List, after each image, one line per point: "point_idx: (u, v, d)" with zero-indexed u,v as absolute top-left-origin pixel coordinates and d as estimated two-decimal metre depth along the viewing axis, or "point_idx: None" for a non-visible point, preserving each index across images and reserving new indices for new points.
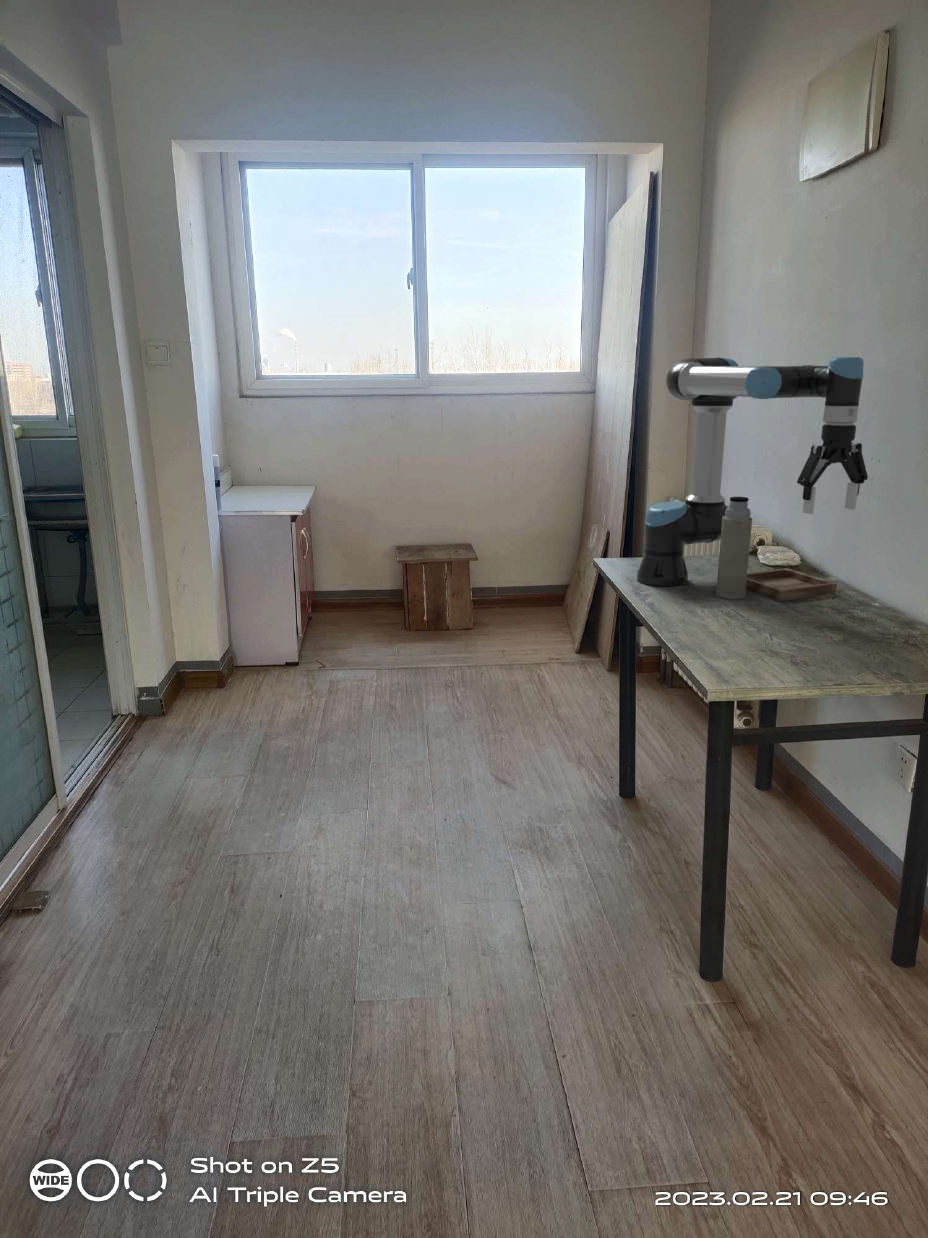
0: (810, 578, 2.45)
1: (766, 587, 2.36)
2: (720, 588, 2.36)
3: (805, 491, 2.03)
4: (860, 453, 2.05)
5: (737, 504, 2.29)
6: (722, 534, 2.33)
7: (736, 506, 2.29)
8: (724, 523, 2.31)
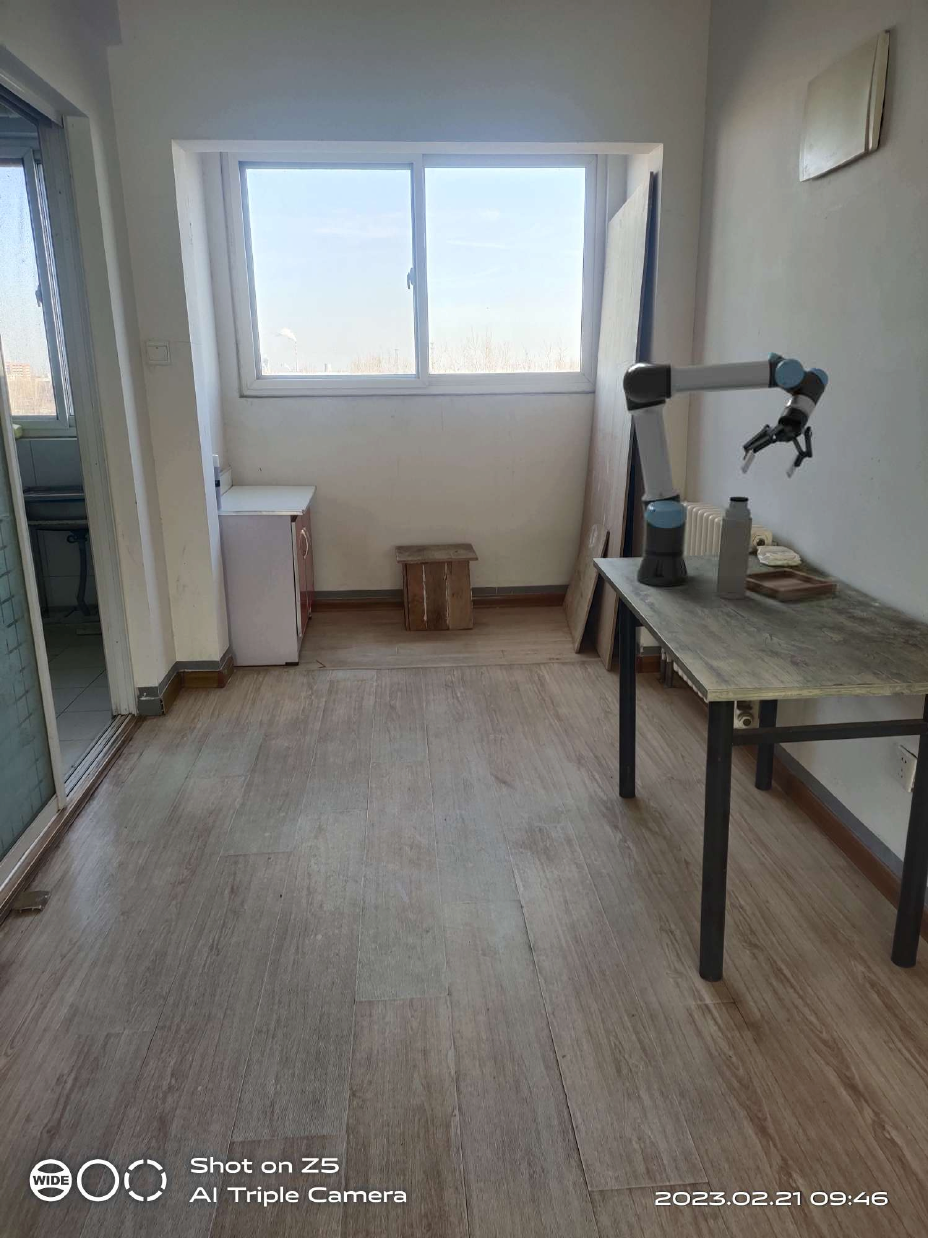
0: (810, 578, 2.45)
1: (766, 587, 2.36)
2: (720, 588, 2.36)
3: (801, 459, 2.32)
4: None
5: (737, 504, 2.29)
6: (722, 534, 2.33)
7: (736, 506, 2.29)
8: (724, 523, 2.31)
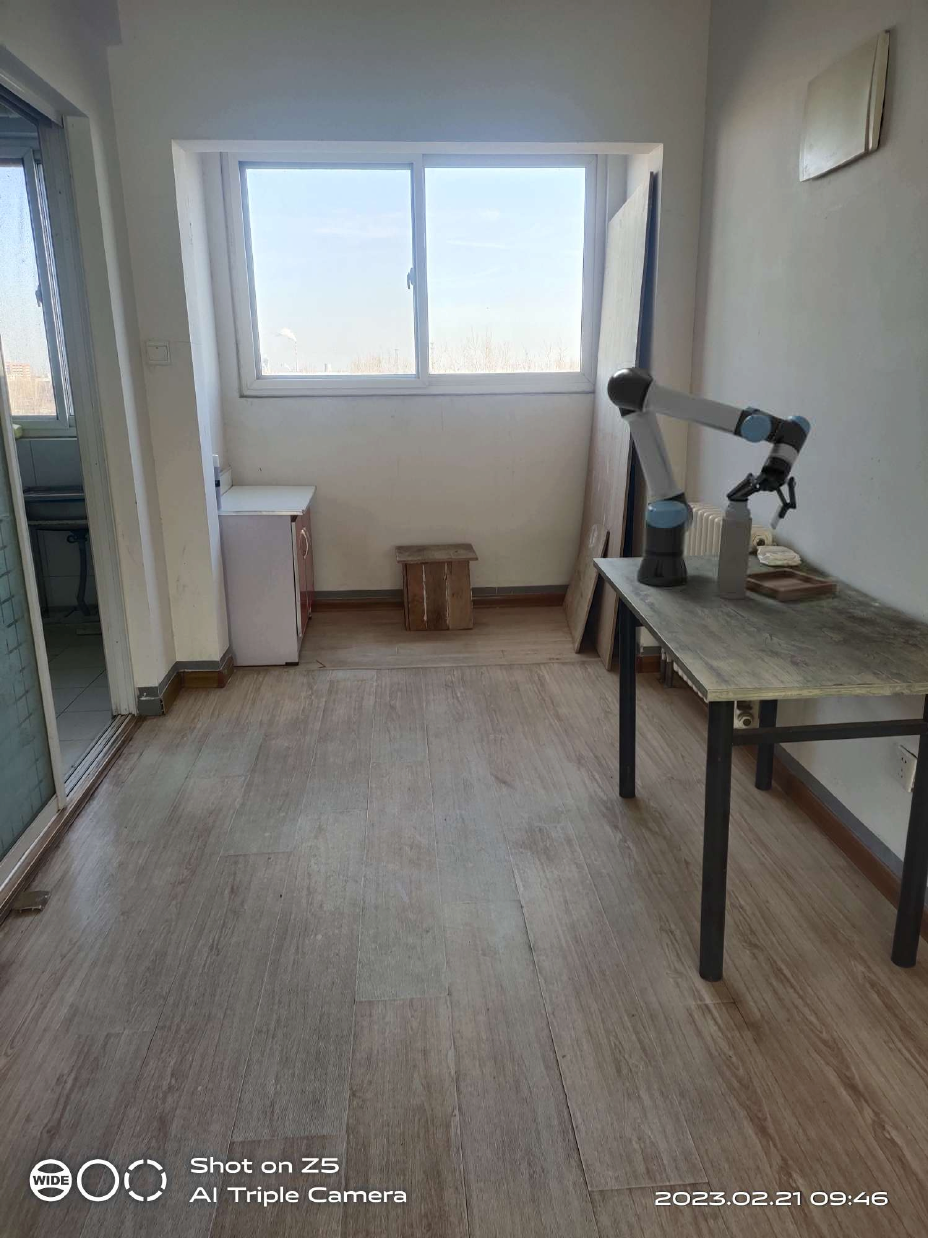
0: (810, 578, 2.45)
1: (766, 587, 2.36)
2: (720, 588, 2.36)
3: (785, 511, 2.30)
4: None
5: (737, 504, 2.29)
6: (722, 534, 2.33)
7: (736, 506, 2.29)
8: (724, 523, 2.31)
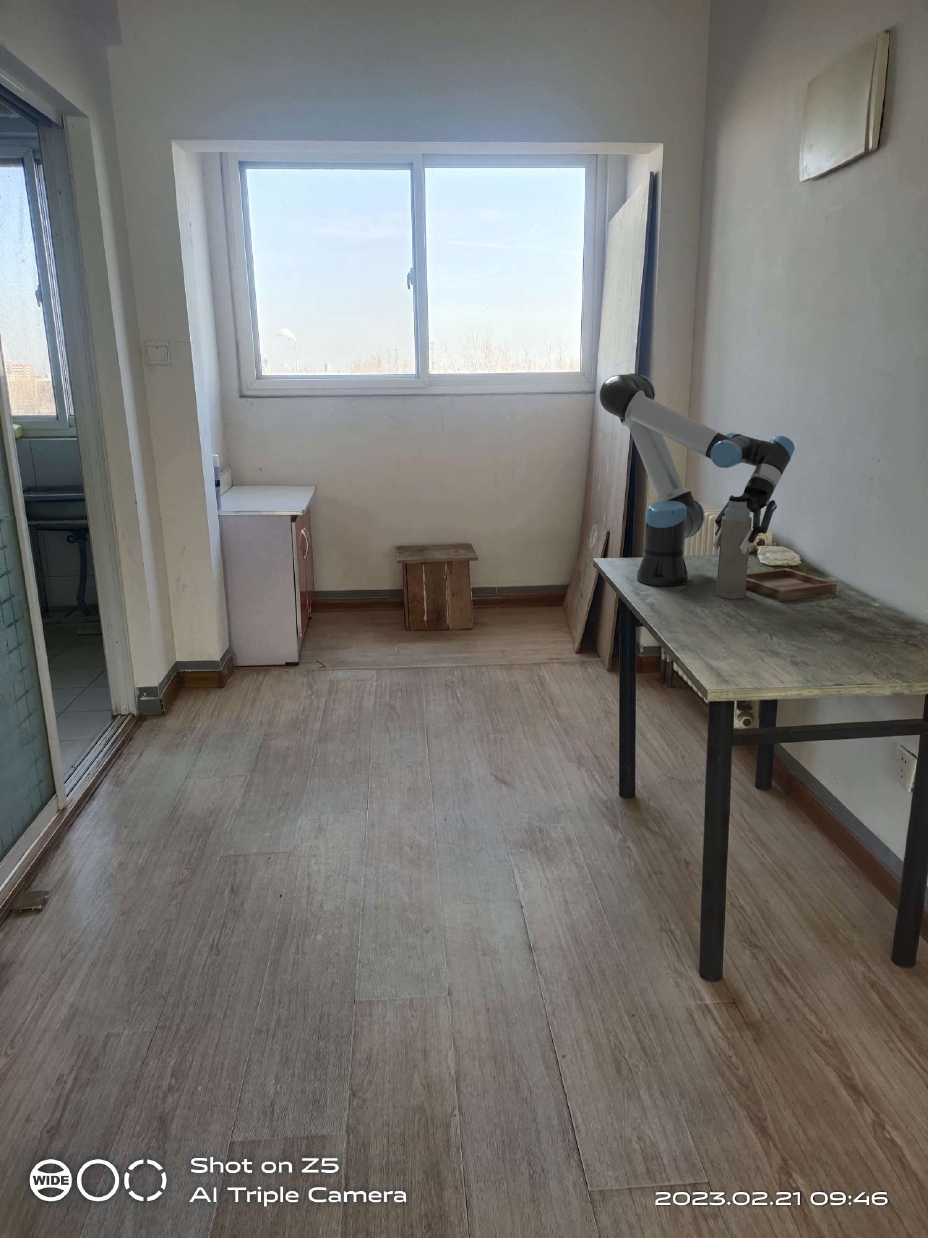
0: (810, 578, 2.45)
1: (766, 587, 2.36)
2: (720, 588, 2.36)
3: (755, 535, 2.29)
4: None
5: (736, 504, 2.29)
6: (722, 534, 2.33)
7: (735, 506, 2.29)
8: (724, 523, 2.31)
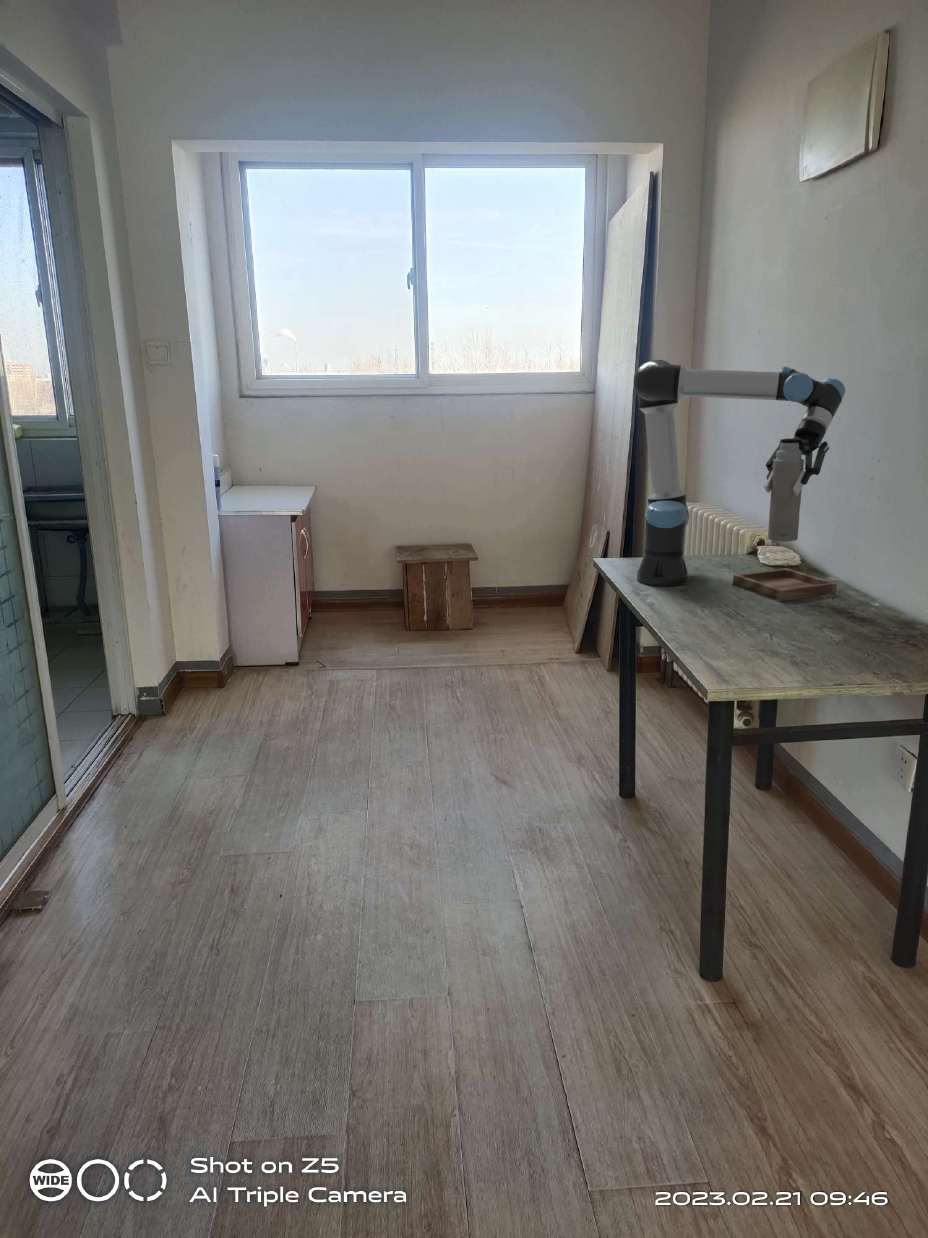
0: (810, 578, 2.45)
1: (766, 587, 2.36)
2: (772, 531, 2.36)
3: (808, 477, 2.29)
4: None
5: (789, 445, 2.28)
6: (773, 476, 2.32)
7: (787, 447, 2.28)
8: (775, 465, 2.31)
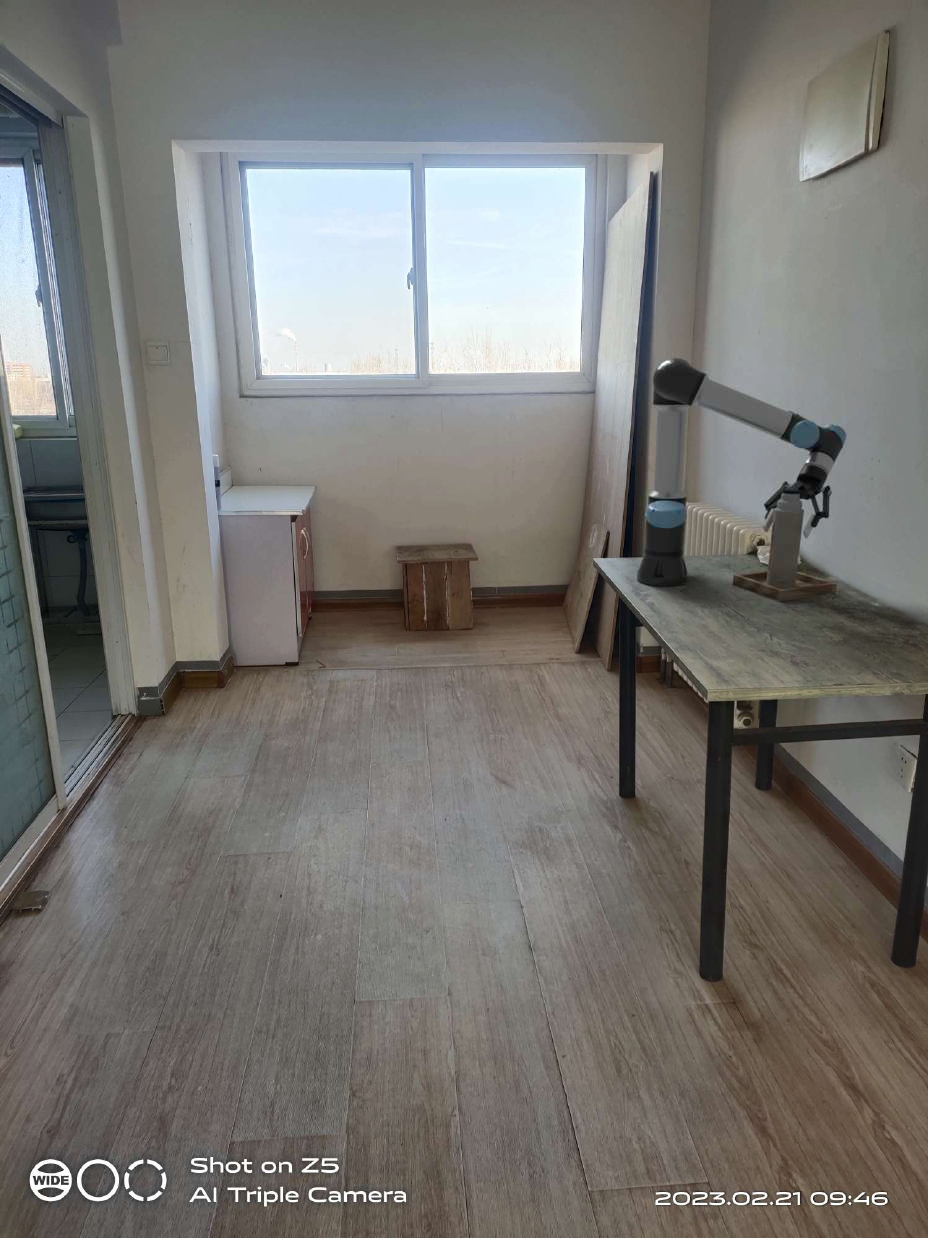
0: (810, 578, 2.45)
1: (766, 587, 2.36)
2: (772, 578, 2.41)
3: (818, 520, 2.33)
4: None
5: (790, 496, 2.34)
6: (774, 526, 2.38)
7: (789, 498, 2.34)
8: (777, 515, 2.36)
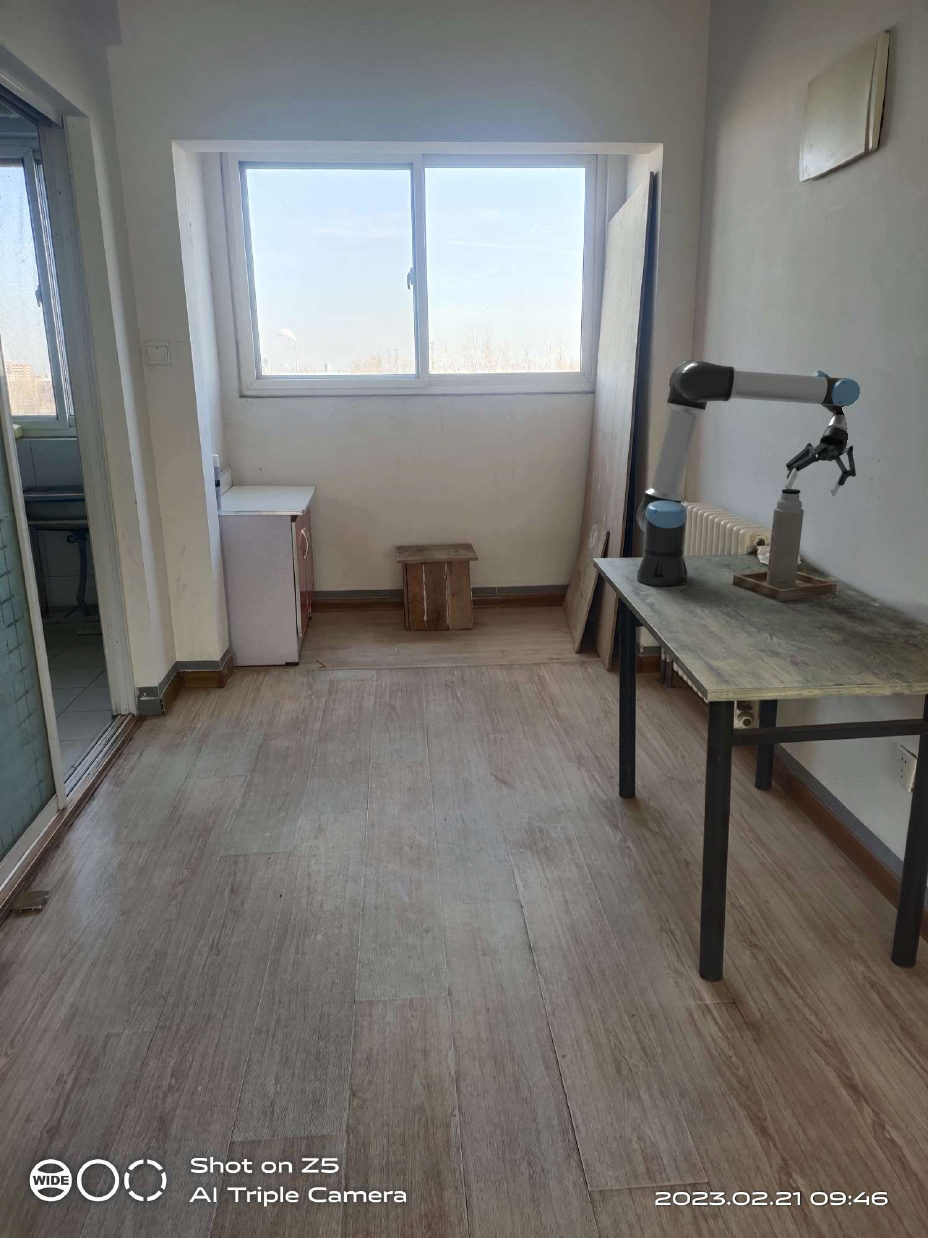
0: (810, 578, 2.45)
1: (766, 587, 2.36)
2: (772, 578, 2.42)
3: (845, 478, 2.38)
4: None
5: (790, 496, 2.34)
6: (774, 526, 2.38)
7: (789, 498, 2.34)
8: (777, 515, 2.37)
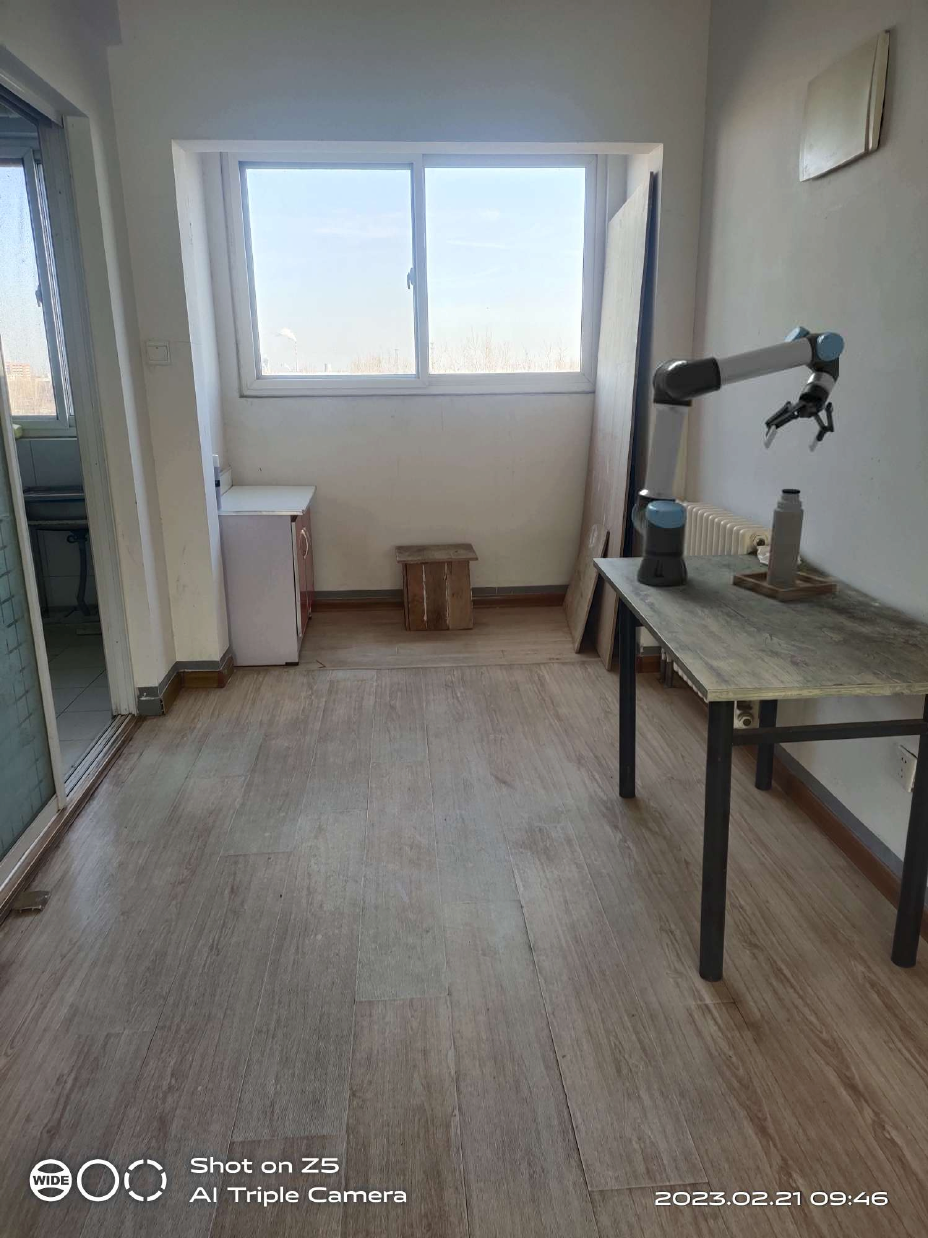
0: (810, 578, 2.45)
1: (766, 587, 2.36)
2: (772, 578, 2.42)
3: (823, 434, 2.39)
4: None
5: (790, 496, 2.34)
6: (774, 525, 2.38)
7: (789, 498, 2.34)
8: (777, 515, 2.37)
